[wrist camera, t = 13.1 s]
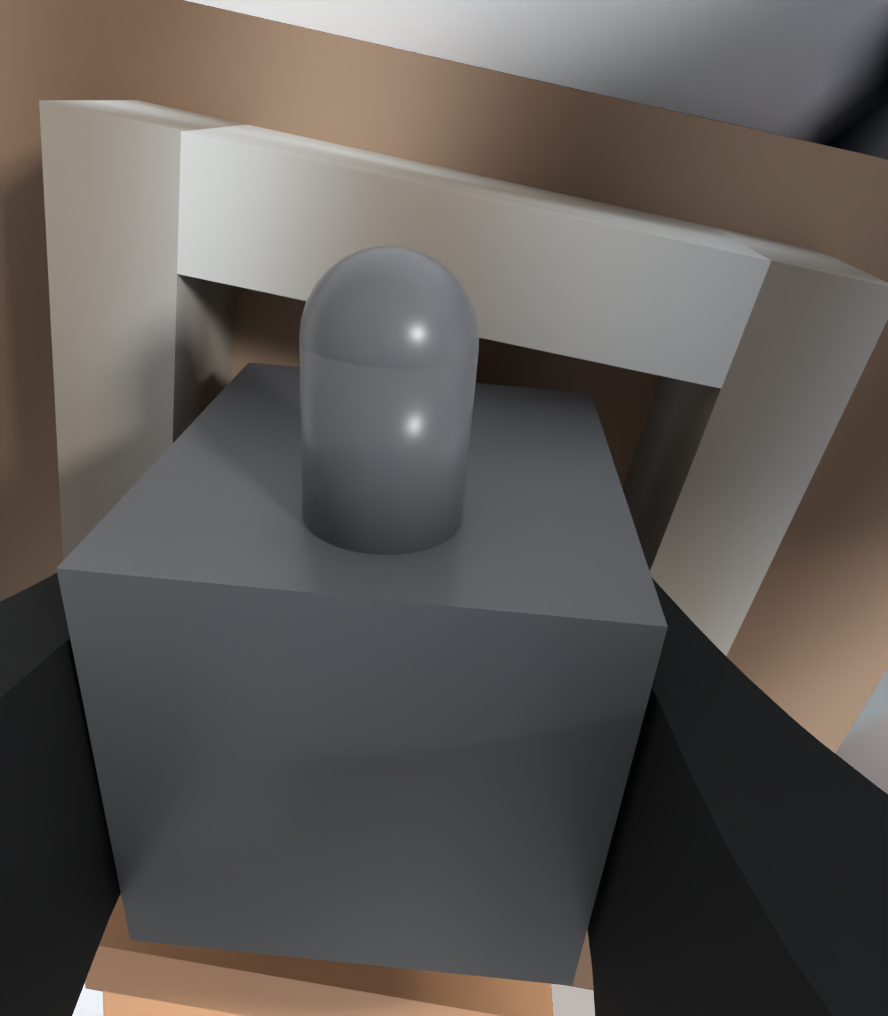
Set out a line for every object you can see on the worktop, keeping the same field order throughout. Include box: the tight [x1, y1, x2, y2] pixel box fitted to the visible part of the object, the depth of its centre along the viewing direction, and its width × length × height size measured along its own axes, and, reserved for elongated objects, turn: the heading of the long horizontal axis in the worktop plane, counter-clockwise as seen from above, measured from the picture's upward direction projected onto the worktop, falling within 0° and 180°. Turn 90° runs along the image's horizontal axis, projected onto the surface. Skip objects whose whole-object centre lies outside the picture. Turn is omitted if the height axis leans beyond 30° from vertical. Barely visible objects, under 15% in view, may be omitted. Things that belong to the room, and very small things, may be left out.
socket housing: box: [0, 0, 888, 990], centre depth 14 cm, size 18×19×4 cm
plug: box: [56, 246, 668, 986], centre depth 9 cm, size 4×7×6 cm
